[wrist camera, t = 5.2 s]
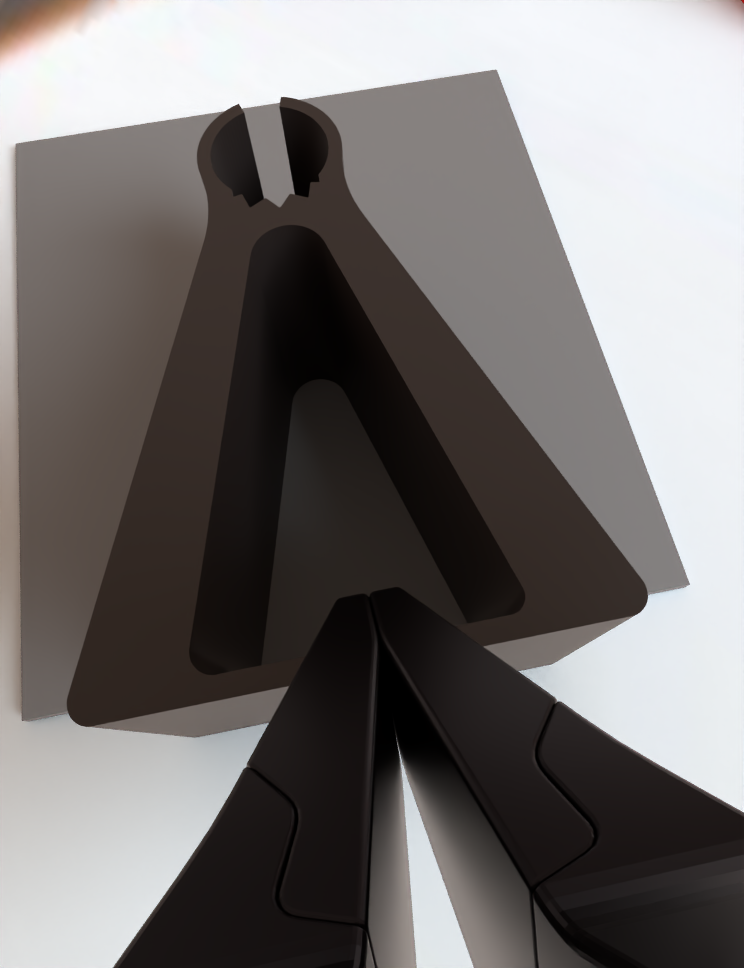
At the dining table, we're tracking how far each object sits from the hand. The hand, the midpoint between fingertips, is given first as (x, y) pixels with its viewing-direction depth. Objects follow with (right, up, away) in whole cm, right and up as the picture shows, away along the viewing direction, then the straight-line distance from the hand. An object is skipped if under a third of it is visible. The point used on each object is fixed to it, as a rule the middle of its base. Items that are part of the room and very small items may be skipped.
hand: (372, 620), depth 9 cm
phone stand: (0, -2, +4) cm, 5 cm away
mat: (-2, +6, +11) cm, 12 cm away
